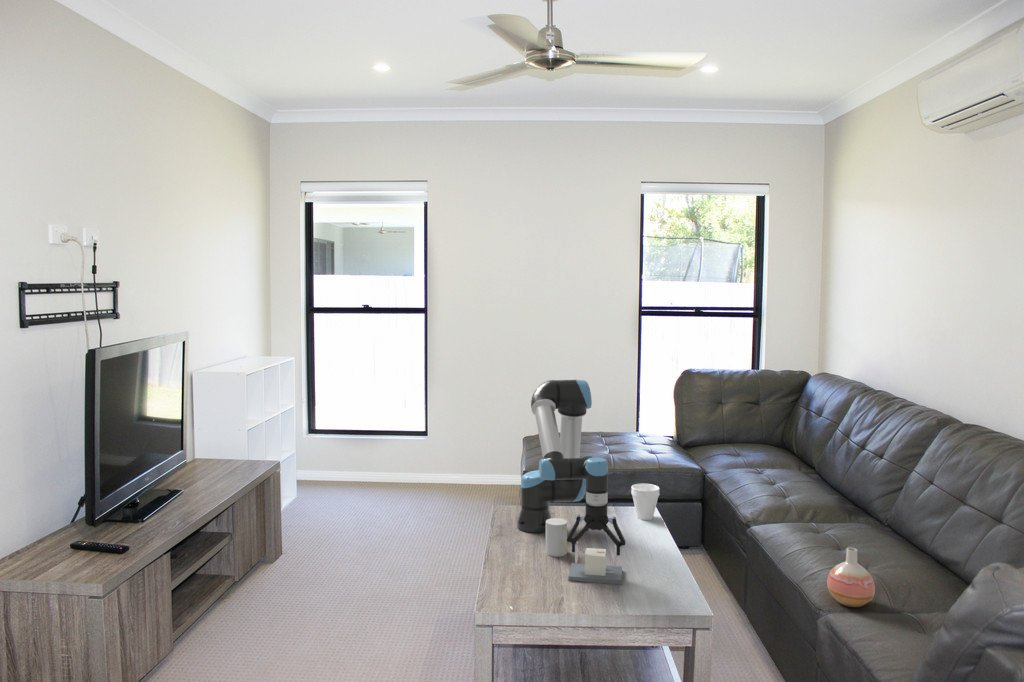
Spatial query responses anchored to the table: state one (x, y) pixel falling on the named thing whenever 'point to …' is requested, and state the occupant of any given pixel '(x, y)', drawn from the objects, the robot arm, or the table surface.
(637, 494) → the cup
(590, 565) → the cream cube
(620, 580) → the shaft plate
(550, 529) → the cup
